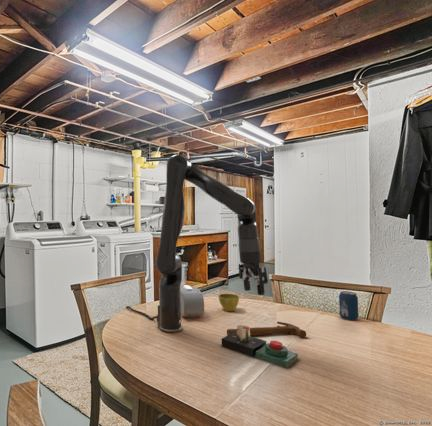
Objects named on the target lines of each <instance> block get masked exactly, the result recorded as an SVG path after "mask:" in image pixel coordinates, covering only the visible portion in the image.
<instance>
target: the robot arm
mask: <svg viewBox="0 0 432 426" xmlns="http://www.w3.org/2000/svg"><path fill="white" fill-rule="evenodd" d="M165 170H166V171H165V172H166V174H165V177H166V180H165V181H166V182H165V192H164V200H163V201H164V202H163V208H162V209H163V210H162V217H161V228H160V239H159V244H158V245H159V246H158V251H157V255H156V260H155V266H156V269H157V271H158V272H159V273H160V275H161V276H160V277H161V278H160V280H159V282H158V301H159V303H158V305H157V314H156V315H154V316H152V317H151V316H149V315H148V314H147V313H145V312H142V311H139V310H136V309H134V308H132V307H131V306H130V305H127V306H125V309H129V310H131V311H132V312H134V313H137V314H141V315H144V316H145V317H146V318H147V319H149V320H151V321H153V320H155V319H156V322H157V327H158V328H159V330H161V331H163V332H165V333H177V332H180V331H181V330H182V323H183V318H182V315H181V293H180V286H182V285H181V284H182V281H183V274H182V273H183V262H182V258H181V256H180V255H179V254H178V253H177V243H178V241H179V237H180V235H181V232H182V229H183V227H184V223H185V215H186V203H185V197H184V196H185V195H184V183H185V181H187V182H189V183H191V184H193V185H194V186H196V187H198V189H200V190H201V191H203V192H204V193H205V194H206V195H207V196H209V197H210V198H212V199H213V200H215V201H216V202H218V203H220V204H222V205H224V207H226V208H228V209H229V210H230V211H231V212H233V213H235V214H236V215H237V223H238V224H237V236H238V237H237V238H238V252H239V261H240V263H238V276H239V279H240V280H241V281H242V282H243V287H244V288H243V289H244V291H246V292H247V291H248V292H249V291H251V281H250V280H251V278H252V279H253V281H255V283H256V290H257V295H258V296H264V295H265V285H266V284H268V283H269V280H268V274H267V268H266V266H260V263H261V262H262V261H263V260H262V251H261V243H260V240H259V232H258V225H257V208H256V204H255V202H254V201H252V200H251V199H250V198H247V197H245V196H243V195H242V194H240V193H238V192H236V191H235V190H234V189H232V188H231V187H230V186H228V185H226V184H225V183H223V182H222V181H220V180H217V179H216V178H214V177H212V176H210V175H208V174H207V173H205V172H203V170H200V169H199V168H198V167H197V166H196V165H195V164H194V163H193V162H191V161H190V160H189V158H187V157H186V156H184V155H182V154H174V155H172V156H170V157H169V159H168V160H167V162H166V169H165Z"/></svg>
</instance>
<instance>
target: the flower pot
mask: <svg viewBox="0 0 432 426" xmlns="http://www.w3.org/2000/svg"><path fill="white" fill-rule="evenodd" d="M217 296H218V300H219V304H220V306H221V307H222V309H223V310H224V311H225V312H234V311H235V310H236V309H237V306H238V305H239V302H240V295H237V294H234V293H220V294H218V295H217Z"/></svg>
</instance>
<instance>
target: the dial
mask: <svg viewBox="0 0 432 426" xmlns="http://www.w3.org/2000/svg"><path fill="white" fill-rule="evenodd" d="M250 328H251V327H250V326H247V325H243V324H241V325H237V326H236V329H237V339H238V340H239V341H242V342H249V341H250Z"/></svg>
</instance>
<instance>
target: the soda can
mask: <svg viewBox="0 0 432 426" xmlns="http://www.w3.org/2000/svg"><path fill="white" fill-rule="evenodd" d="M338 307H339V308H338V311H339V316H340V318H341V319H343V320H346V321H351V322H353V321H357V320H358V319H359V298H358V296H357V293H356V292H353V291H349V290H348V291H345V290H342V291H341V290H340V293H339V294H338Z"/></svg>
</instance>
